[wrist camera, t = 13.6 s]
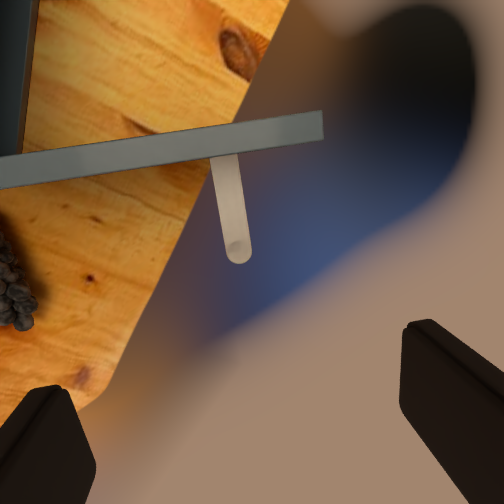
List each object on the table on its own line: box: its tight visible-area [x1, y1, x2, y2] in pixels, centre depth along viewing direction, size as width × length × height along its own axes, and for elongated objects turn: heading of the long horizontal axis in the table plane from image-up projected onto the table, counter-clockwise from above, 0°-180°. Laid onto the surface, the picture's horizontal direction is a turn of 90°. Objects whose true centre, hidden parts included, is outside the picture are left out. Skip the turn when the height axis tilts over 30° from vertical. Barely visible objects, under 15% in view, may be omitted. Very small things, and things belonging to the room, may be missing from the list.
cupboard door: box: [0, 110, 324, 264], centre depth 22 cm, size 8×24×24 cm, turn 98°
